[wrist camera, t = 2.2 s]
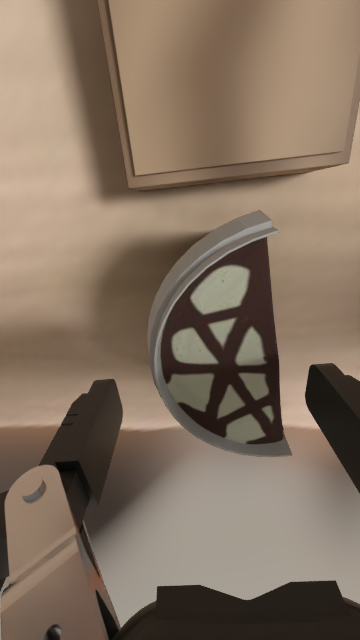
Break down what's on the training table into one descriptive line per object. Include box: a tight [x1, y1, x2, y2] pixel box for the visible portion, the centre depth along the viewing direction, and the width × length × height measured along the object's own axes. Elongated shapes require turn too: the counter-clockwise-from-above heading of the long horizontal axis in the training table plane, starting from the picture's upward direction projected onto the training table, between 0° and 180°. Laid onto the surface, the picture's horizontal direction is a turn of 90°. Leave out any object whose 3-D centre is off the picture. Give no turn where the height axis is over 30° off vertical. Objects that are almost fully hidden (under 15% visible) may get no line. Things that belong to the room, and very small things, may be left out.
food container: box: [147, 210, 292, 457], centre depth 15 cm, size 12×6×10 cm, turn 13°
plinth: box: [97, 0, 360, 191], centre depth 12 cm, size 11×10×4 cm
